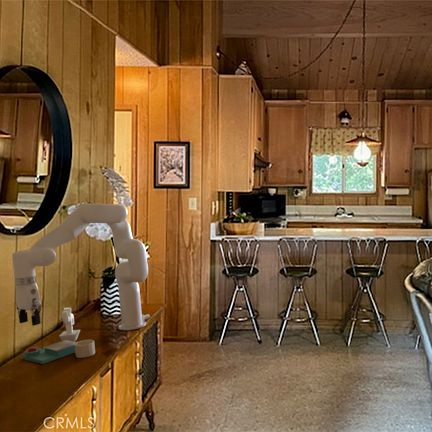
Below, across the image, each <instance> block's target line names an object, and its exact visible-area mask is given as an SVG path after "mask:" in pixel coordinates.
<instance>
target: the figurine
mask: <svg viewBox="0 0 432 432" xmlns="http://www.w3.org/2000/svg"><path fill="white" fill-rule="evenodd" d="M61 316H62V323H63V324H64V325H65V330H64V331H62V333H60V334H59V335H58V337H59V339H60V340H61V341H64V340H68V341H73V342H76V341H77V340H78V338H79V334H80V332H81V329H74V327H73V325H75V316H74V314H73V313H72V307H64V308H63V311H62V312H61Z"/></svg>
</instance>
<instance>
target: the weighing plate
mask: <svg viewBox="0 0 432 432" xmlns="http://www.w3.org/2000/svg"><path fill="white" fill-rule="evenodd" d="M77 342H78V341H75V342H73V341H68V340H64V341H62V340H61V341H58V342H55V343H52V344H49V345H45V346H43V347H42V349H44V350H45V352H46V353H50V354H54V355H58V359H61V358H63V357H67V356H69V355H72V354H75V345H74V344H75V343H77Z"/></svg>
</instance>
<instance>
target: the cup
mask: <svg viewBox="0 0 432 432" xmlns="http://www.w3.org/2000/svg"><path fill="white" fill-rule="evenodd" d="M76 342H77V343H75V344H74V345H75V353H74V355H75V357H76V358H77V359H82V358H88V357H92V356H94V355H95V354H96V346H95V340H94V339H83V340H80V341H76Z"/></svg>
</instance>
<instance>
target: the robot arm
mask: <svg viewBox="0 0 432 432" xmlns="http://www.w3.org/2000/svg"><path fill="white" fill-rule="evenodd" d="M128 215H129V211H128V209H127V207H126V206H125V205H123V204H121V203H84V204H81V205H79V206H78V207H76V209H74V210H73V211H72V212H71V213H70V214H69V215H68V216H67V217H66V218H65V219H64V220H63V221H62V222H61V223H60V224H59V225H57V226H56V227H54V228H53V229H51V230H50V231H48V232H47V233H45V234H44V235H43V236H42V237H40V238H39V239H38V240H37V241H36V242H34V243H33V245H31V247H30V248H29V249H25V250H17V251H14V252H13V253H12V255H11V259H12V268H13V276H14V285H15V286H14V287H15V298H16V299H15V306H16V309H17V314H18V321H19V324H24V323H28V321H29V318H28V317H29V316H28V311H30V314H31V317H30V318H31V325H32V327H33V326H38V325H40V324H41V323H42V321H41V310H42V304H41V296H40V291H39V287H38V284H37V274H36V267H48V266H51V265H53V264H54V263H55V261H56V260H57V253H56V251H55V249H57V248H58V247H61V246H62V245H64V244H67V243H70V242H72V241H74V240H76V238H78V237H79V235H81V233H83V231H84V230H85V229H86V228H87V227H89V225H90V224H106V225H107V226H108V227H109V228H110V231H111V233H112V239H113V240H112V241H113V248H114V252H115V255H116V257H117V258H119V259H121V260H125V261H121V262H119V263H118V264H117V265H116V267H115V269H114V277H115V280H116V284H117V289H118V300H119V310H120V321H121V322H120V323H121V324H119V325H118V330H120V331H133V330H138V329H141V328H143V327H145V326H146V325H147V322H146V321H145V320H147V319H150V318H151V315H150V314H149V313H148V314H145V315H144V314H143V313H142V301H141V292H140V291H141V290H140V285H139V283H143V282H144V281H146V279H147V278H148V275H149V265H148V264H149V263H148V255H147V249H146V247H145V244H144V243H143V241H141V240H139V239H138V238H137V239H136V238H134V237H133V233H132V229H131V224H130V223H129V221H128V219H127V218H128Z"/></svg>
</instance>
